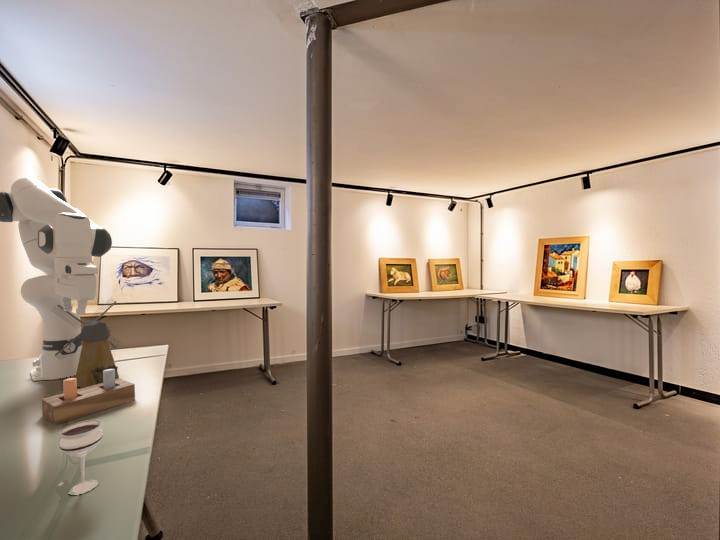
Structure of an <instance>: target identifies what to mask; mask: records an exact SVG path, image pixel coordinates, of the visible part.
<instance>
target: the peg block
mask: <svg viewBox="0 0 720 540" xmlns="http://www.w3.org/2000/svg"><path fill="white" fill-rule="evenodd" d="M135 385H136V384H135V383H133V382H130V381H127V380H125V379H123V378H120V377H119V379H116V380H115V387H112V388H109V389H105V390H104V385H103V383H101V384H97V385H93V386H89V387H85V388H77V398H73V399H69V400H66V401H64V392H63V393H60V394H55V395H52V396H47V397H45V398H41V409H42V413H41V415H42V417H43V418H44V419H46V420H47V421H49V422H50V423H52V424H54V425H55V426H57V425H60V424H63V423H66V421H67V422H69V420H70V421H72V419H73V420H75V419H80V418H82V417H85V416H88V415H92V414H94V413H97V412H100V411H104V410H107V409H110V408H114V407H117V406H119V405H122V404H126V403H129V402H133V401H134V400H136V392H135V391H136V387H135Z"/></svg>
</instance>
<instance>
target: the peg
mask: <svg viewBox="0 0 720 540" xmlns="http://www.w3.org/2000/svg"><path fill="white" fill-rule="evenodd" d="M62 386H63V387H62V388H63V390H62V391H63V393H64V401H66V400H69V399H73V398H77V390H78V388H77V380H76V378H75V377H68V378H66V379H65V378H64V379H63V380H62Z"/></svg>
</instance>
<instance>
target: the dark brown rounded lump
mask: <svg viewBox="0 0 720 540" xmlns="http://www.w3.org/2000/svg"><path fill="white" fill-rule="evenodd" d="M115 365H116V364H115ZM115 365H113V366H111V365H109V366H108V368H104V367H103V366H102V367H101V368H99V367H96V369H95V370H94V369H92V370H91V377H92V382H93V385H97V384H101V383H103V371H104V370H107V369H115V380H116V378H117V372H118V365H116V366H115Z"/></svg>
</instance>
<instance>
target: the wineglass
mask: <svg viewBox="0 0 720 540" xmlns="http://www.w3.org/2000/svg"><path fill="white" fill-rule="evenodd" d="M102 424H103V422H102V421H101V420H99V419H89V420H88V419H87V420H86V419H85V420H82V421H78V422H77V421H76V422H75V423H70V425H66V426H65V427H63V428H62V429H60V430H59V431H58V435H59V436H60V438H59V441H58V445H59V448H58V449H60V451H61V452H62V453H63V454H65V455H67V456H70V457H77V458H79V464H80V473H81V482H82V483H80V482H78V483H79V484H78V483H76V484H77V485H76V484H75V486H74V485H73V486H74V487H73V486H72V487H73V490H72V491H73V492H75V493H79V492H84V491H86V490H88V489H90V488H91V487H93V486H94V484H95V483H94V482H93V481H87V480H85V479H86V477H85V476H86V475H85V473H86V472H85V470H86V469H85V468H86V467H85V466H86V458H85V457H86V456H87V455H88V453H90V452H91V451H94V449H95V448H96V447H97V446H98V445H99V444H100V443H101V442H102V439H103V435H104V431H103V429H102V427H101V426H102Z"/></svg>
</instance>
